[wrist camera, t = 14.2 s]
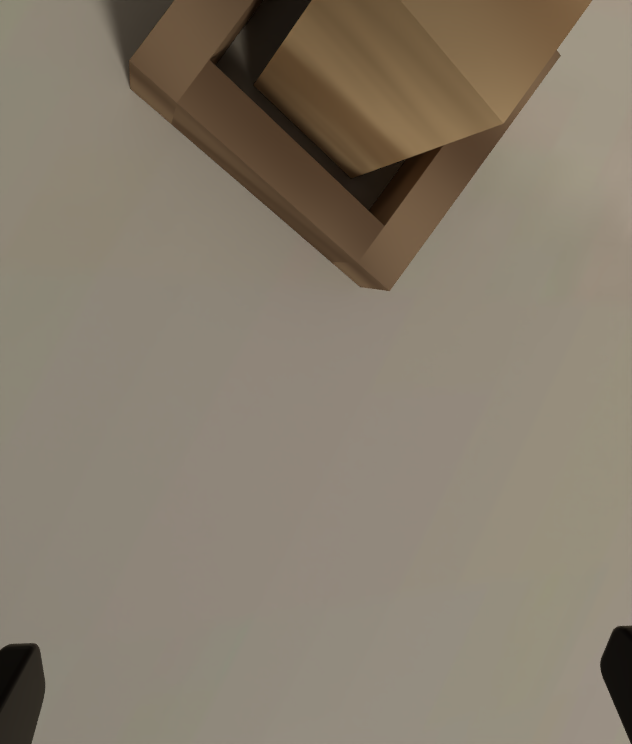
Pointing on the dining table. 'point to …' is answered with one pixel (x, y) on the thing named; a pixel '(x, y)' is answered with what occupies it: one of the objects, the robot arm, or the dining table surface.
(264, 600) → the dining table surface
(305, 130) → the oak block
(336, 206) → the walnut holder
